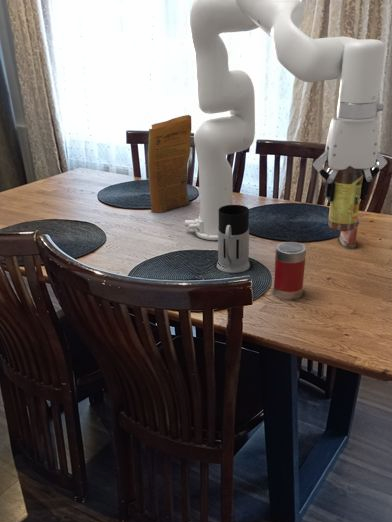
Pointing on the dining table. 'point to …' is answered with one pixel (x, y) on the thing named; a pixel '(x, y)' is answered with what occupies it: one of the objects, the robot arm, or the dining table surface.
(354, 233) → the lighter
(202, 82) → the robot arm
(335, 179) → the sauce bottle
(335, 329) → the dining table surface
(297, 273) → the can
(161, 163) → the pancake mix bag
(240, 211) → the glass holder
